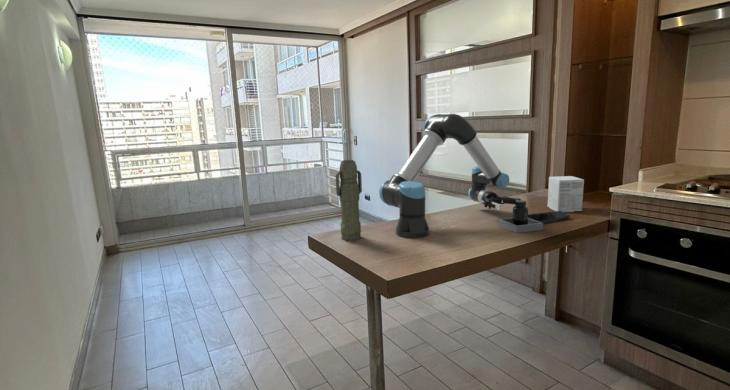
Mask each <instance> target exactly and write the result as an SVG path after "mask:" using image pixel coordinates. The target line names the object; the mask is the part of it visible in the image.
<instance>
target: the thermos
mask: <svg viewBox="0 0 730 390" xmlns="http://www.w3.org/2000/svg"><path fill="white" fill-rule="evenodd" d="M356 163H357V162H356V161H355V160H353V159H344V160H342V161H340V165H339V171H337V172H336V174H335V188H336V189H335V190H336V191H335V192H336V196H338V197H339V202H340V212H341V213H340V214H341V221H340V234H341V240H343V241H346V242H347V241H349V242H350V241H351V242H352V241H357V240H361V234H362V233H361V232H362V230H361V229H362V223H361V221H360V205H359V201H360V194H361V193H362V192H363V188H362V181H363V180H362V173H361V171H360V170H358V167H357V164H356Z"/></svg>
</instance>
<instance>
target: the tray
mask: <svg viewBox="0 0 730 390" xmlns="http://www.w3.org/2000/svg"><path fill="white" fill-rule="evenodd" d="M512 218H513V216H512V217H504V218H497V219H498V220H497V226H498V227H501V228H503V229H506V230H508V231H511V232H513V233H516V234H519V233H527V232H535V231H542V230H543V229H544V224H543V223H541V222H538V221H536V220H533V219H530V218H528V224H526V225H518V226H517V225H515V224H512Z"/></svg>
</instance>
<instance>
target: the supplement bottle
mask: <svg viewBox="0 0 730 390" xmlns="http://www.w3.org/2000/svg"><path fill="white" fill-rule="evenodd" d="M528 215H529V208H528V207H527V201H526V200H523V199H521V200H517V201H515V204H514V206H513V207H512V217H513V218H512V217H511V218H512V224H515V225H517V226H518V225H526V224H528Z"/></svg>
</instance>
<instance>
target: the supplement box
mask: <svg viewBox="0 0 730 390" xmlns="http://www.w3.org/2000/svg"><path fill="white" fill-rule="evenodd" d="M584 185H585V179H583V178H580V177H576V176H574V175H573V176H572V175H566V176H565V175H564V176H561V175H560V176H557V175H556V176H548V193H547V208H548V207H549V209H551V211H553V212H555V211H562V212H563V213H575V212H574V211H583V200H584Z"/></svg>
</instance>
